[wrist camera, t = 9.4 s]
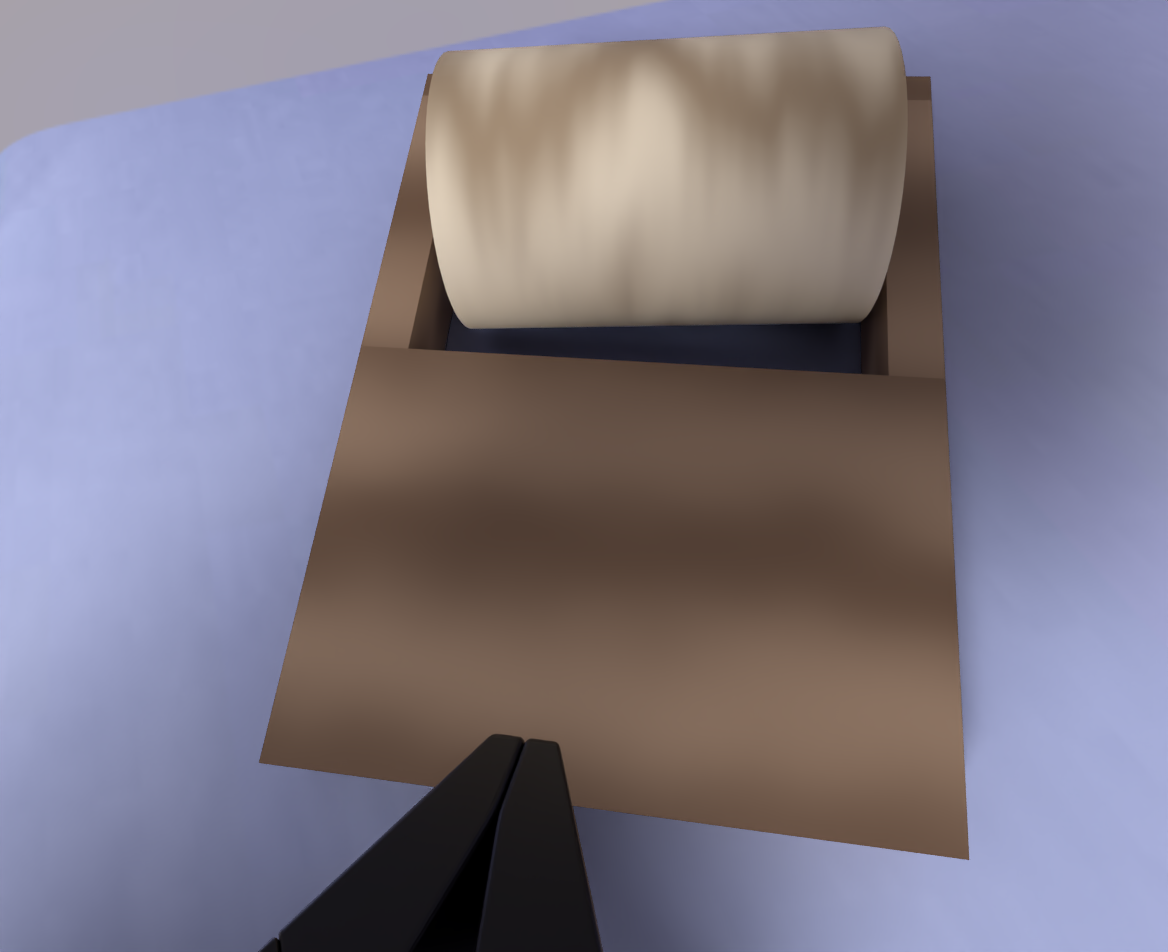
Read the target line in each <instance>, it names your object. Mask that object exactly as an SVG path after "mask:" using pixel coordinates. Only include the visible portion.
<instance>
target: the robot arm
mask: <svg viewBox="0 0 1168 952" xmlns="http://www.w3.org/2000/svg"><path fill="white" fill-rule="evenodd" d="M258 952H603V948H602V943H601V938H600V934H599V929H598V924H597V919H596V915H595V910H594V905H593V900H592V896H591V891H590V886H589V881H588V877H587V872H586V867H585V862H584V858H583V853H582V848H581V843H580V839H579V834H578V829H577V825H576V820H575V815H574V810H573V806H572V801H571V796H570V791H569V787H568V782H567V777H566V772H565V768H564V763H563V758H562V753H561V749H560V746H559V744H558V743H557V742H555V741H548V740H541V739H534V738H530V739H528V740H527V741H526V742H525V741H524V739H523V738H522V737H519V736H511V735H504V734H493V735H490V736H489V737H488V738H487V739H486V740H485V741H484V742H482V743H481V744H480V745H479V746H478V747H477V748H476V749H475V750H474V751H473V752H472V753H471V754H470V755H469V756H467V757H466V758H465V759H464V760H463V761H462V762H461V763H460V764H459V765H458V766H457V767H456V768H455V769H454V770H452V771H451V772H450V773H449V774H448V775H447V776H446V777H445V778H444V779H443V780H442V781H441V782H440V783H439V784H437V785H436V786H435V787H434V788H433V789H432V790H431V791H430V792H429V793H428V794H427V795H426V796H425V797H424V798H422V799H421V800H420V801H419V802H418V803H417V804H416V805H415V806H414V807H413V808H412V809H411V810H410V811H409V812H407V813H406V814H405V815H404V816H403V817H402V818H401V819H400V820H399V821H398V822H397V823H396V824H395V825H394V826H392V827H391V828H390V829H389V830H388V831H387V832H386V833H385V834H384V835H383V836H382V837H381V838H380V839H379V840H377V841H376V842H375V843H374V844H373V845H372V846H371V847H370V848H369V849H368V850H367V851H366V852H365V853H364V854H362V855H361V856H360V857H359V858H358V859H357V860H356V861H355V862H354V863H353V864H352V865H351V866H350V867H349V868H347V869H346V870H345V871H344V872H343V873H342V874H341V875H340V876H339V877H338V878H337V879H336V880H335V881H334V882H332V883H331V884H330V885H329V886H328V887H327V888H326V889H325V890H324V891H323V892H322V893H321V894H320V895H319V896H317V897H316V898H315V899H314V900H313V901H312V902H311V903H310V904H309V905H308V906H307V907H306V908H305V909H304V910H302V911H301V912H300V913H299V914H298V915H297V916H296V917H295V918H294V919H293V920H292V921H291V922H290V923H289V924H287V925H286V926H285V927H284V928H283V929H282V930H281V931H280V932H279V940H278V939H277V938H272V939H271V940H270V941H269V942H268V943H267V944H266V945H265V946H263V947H262V948H261V949H260V950H259V951H258Z"/></svg>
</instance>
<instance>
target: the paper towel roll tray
mask: <svg viewBox="0 0 1168 952" xmlns="http://www.w3.org/2000/svg"><path fill="white" fill-rule="evenodd" d="M432 75H433V74H428V76H427V80H426V84H425V88H424V92H423V96H422V101H421V105H420V109H419V113H418V117H417V121H416V125H415V129H414V133H413V137H412V141H411V145H410V149H409V153H408V158H407V162H406V166H405V170H404V174H403V178H402V182H401V186H400V190H399V194H398V198H397V202H396V206H395V211H394V215H393V219H392V223H391V227H390V231H389V235H388V239H387V243H386V247H385V251H384V255H383V259H382V263H381V268H380V272H379V276H378V280H377V284H376V288H375V292H374V296H373V300H372V304H371V308H370V312H369V316H368V321H367V325H366V329H365V333H364V337H363V341H362V345H361V349H360V353H359V357H358V361H357V365H356V369H355V373H354V378H353V382H352V386H351V390H350V394H349V398H348V402H347V406H346V410H345V414H344V418H343V422H342V426H341V430H340V435H339V439H338V443H337V447H336V451H335V455H334V459H333V463H332V467H331V471H330V475H329V479H328V483H327V488H326V492H325V496H324V500H323V504H322V508H321V512H320V516H319V520H318V524H317V528H316V532H315V536H314V540H313V545H312V549H311V553H310V557H309V561H308V565H307V569H306V573H305V577H304V581H303V585H302V589H301V593H300V598H299V602H298V606H297V610H296V614H295V618H294V622H293V626H292V630H291V634H290V638H289V642H288V646H287V650H286V655H285V659H284V663H283V667H282V671H281V675H280V679H279V683H278V687H277V691H276V695H275V699H274V703H273V707H272V712H271V716H270V720H269V724H268V728H267V732H266V736H265V740H264V744H263V748H262V752H261V756H260V760H259V763H264V764H271V765H279V766H286V767H293V768H301V769H308V770H315V771H323V772H330V773H337V774H344V775H352V776H359V777H366V778H374V779H381V780H388V781H396V782H403V783H410V784H418V785H425V786H432V787H435V786H436V785H437V784H439V783H440V782H441V781H442V780H443V779H444V778H445V777H446V776H447V775H448V774H449V773H450V772H451V771H452V770H454V769H455V768H456V767H457V766H458V765H459V764H460V763H461V762H462V761H463V760H464V759H465V758H466V757H467V756H469V755H470V754H471V753H472V752H473V751H474V750H475V749H476V748H477V747H478V746H479V745H480V744H481V743H482V742H484V741H485V740H486V739H487V738H488V737H489V736H490V735H493V734H504V735H511V736H519V737H522V738H523V739H524V741H525V742H526V741H527V740H528V739H530V738H534V739H541V740H548V741H555V742H557V743H558V744H559V746H560V749H561V753H562V758H563V763H564V768H565V772H566V777H567V782H568V787H569V791H570V796H571V801H572V806H579V807H586V808H593V809H601V810H608V811H615V812H622V813H630V814H637V815H644V816H652V817H659V818H666V819H674V820H681V821H688V822H696V823H703V824H710V825H718V826H725V827H732V828H740V829H747V830H754V831H761V832H769V833H776V834H783V835H791V836H798V837H805V838H813V839H820V840H827V841H835V842H842V843H849V844H857V845H864V846H871V847H879V848H886V849H893V850H900V851H908V852H915V853H922V854H930V855H937V856H944V857H952V858H959V859H966V860H969V846H968V826H967V806H966V786H965V766H964V745H963V725H962V705H961V685H960V665H959V645H958V624H957V604H956V584H955V564H954V544H953V523H952V503H951V483H950V463H949V443H948V422H947V402H946V382H945V362H944V342H943V322H942V301H941V281H940V261H939V241H938V221H937V200H936V180H935V160H934V140H933V120H932V100H931V79H930V77H906V84H907V101H908V131H907V153H906V168H905V177H904V187H903V195H902V202H901V209H900V215H899V221H898V227H897V232H896V237H895V242H894V246H893V251H892V255H891V259H890V262H889V266H888V270H887V273H886V276H885V279H884V282H883V285H882V288H881V291H880V293H879V295H878V298H877V300H876V302H875V304H874V306H873V308H872V310H871V311H870V313H869V314H868V315H867V317H866V318H865V319H864V320H863V321H861V374H851V373H833V372H816V371H798V370H780V369H762V368H744V367H727V366H709V365H691V364H673V363H656V362H638V361H620V360H602V359H584V358H567V357H549V356H531V355H513V354H496V353H478V352H460V351H445V347H446V342H447V337H448V332H449V327H450V322H451V317H452V312H453V307H452V305H451V303H450V300H449V298H448V295H447V292H446V289H445V286H444V283H443V279H442V275H441V271H440V268H439V263H438V259H437V254H436V249H435V244H434V238H433V232H432V226H431V218H430V210H429V201H428V190H427V176H426V146H425V141H426V115H427V103H428V96H429V89H430V84H431V79H432Z"/></svg>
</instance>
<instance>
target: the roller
mask: <svg viewBox="0 0 1168 952" xmlns="http://www.w3.org/2000/svg"><path fill="white" fill-rule="evenodd" d="M907 131H908V101H907V84H906V75H905V66H904V61H903V56H902V51H901V48H900V45H899V41H898V39H897V37H896V35H895V33H894V32H893V31H892V30H891V29H890V28H888V27H870V28H852V29H835V30H817V31H799V32H781V33H764V34H746V35H728V36H710V37H693V38H675V39H657V40H639V41H622V42H604V43H586V44H568V45H551V46H533V47H515V48H497V49H480V50H462V51H447V52H445V53H443V54H442V55H441V57H440V58H439V59H438V61H437V64H436V66H435V69H434V72H433V75H432V79H431V84H430V89H429V96H428V103H427V115H426V141H425V146H426V176H427V190H428V201H429V210H430V218H431V226H432V232H433V238H434V244H435V249H436V254H437V259H438V263H439V268H440V271H441V275H442V279H443V283H444V286H445V289H446V292H447V295H448V298H449V300H450V303H451V305H452V307H453V309H454V311H455V313H456V315H457V317H458V318H459V320H460V321H461V323H462V324H464V325H465V326H466V327H467V328H470V329H492V328H559V327H625V326H691V325H757V324H824V323H859V322H861V321H863V320H864V319H865V318H866V317H867V315H868V314H869V313H870V311H871V310H872V308H873V306H874V304H875V302H876V300H877V298H878V295H879V293H880V291H881V288H882V285H883V282H884V279H885V276H886V273H887V270H888V266H889V262H890V259H891V255H892V251H893V246H894V242H895V237H896V232H897V227H898V221H899V215H900V209H901V202H902V195H903V187H904V177H905V168H906V153H907Z"/></svg>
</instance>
